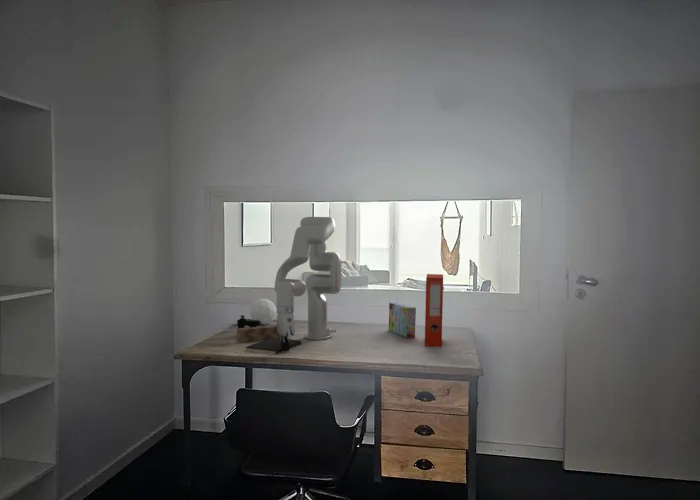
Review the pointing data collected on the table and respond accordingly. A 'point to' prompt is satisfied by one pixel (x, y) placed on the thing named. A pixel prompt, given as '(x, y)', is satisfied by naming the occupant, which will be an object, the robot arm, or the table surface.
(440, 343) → the file binder
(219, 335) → the table surface
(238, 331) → the brown wooden block
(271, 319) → the geometric sphere
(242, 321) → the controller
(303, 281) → the robot arm
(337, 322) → the table surface
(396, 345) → the table surface
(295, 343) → the hardcover book
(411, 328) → the snack box
